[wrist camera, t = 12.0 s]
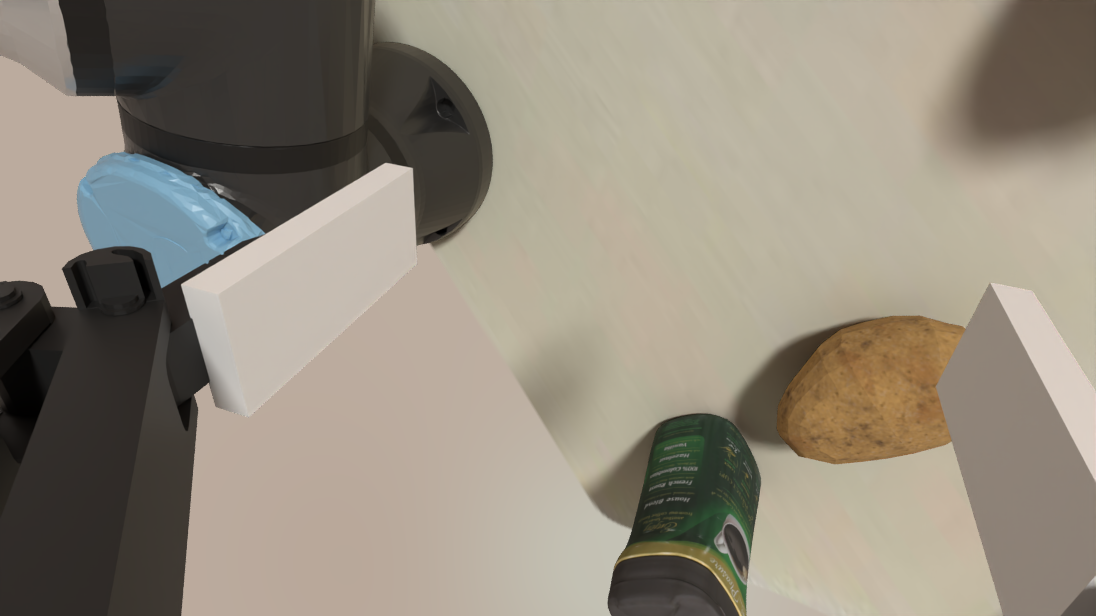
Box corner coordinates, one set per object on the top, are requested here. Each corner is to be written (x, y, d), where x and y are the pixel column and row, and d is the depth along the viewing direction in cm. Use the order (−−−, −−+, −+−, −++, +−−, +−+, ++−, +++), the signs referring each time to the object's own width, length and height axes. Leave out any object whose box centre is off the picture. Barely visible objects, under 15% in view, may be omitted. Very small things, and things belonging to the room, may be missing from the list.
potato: (748, 347, 48) (738, 412, 42) (941, 258, 41) (964, 321, 34) (818, 439, 50) (819, 514, 44) (1015, 370, 42) (1051, 450, 36)
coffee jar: (643, 419, 55) (580, 602, 40) (730, 400, 51) (696, 596, 36) (688, 500, 58) (644, 699, 43) (773, 489, 54) (758, 704, 39)
